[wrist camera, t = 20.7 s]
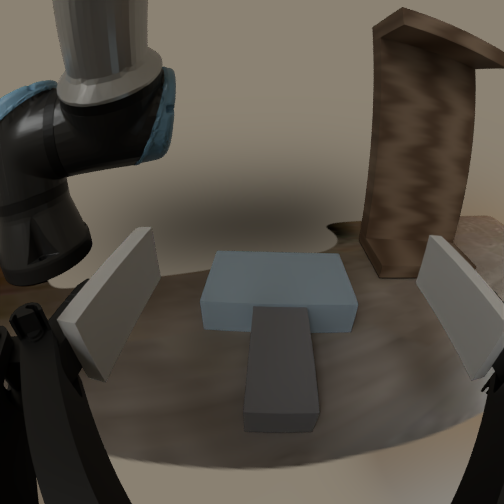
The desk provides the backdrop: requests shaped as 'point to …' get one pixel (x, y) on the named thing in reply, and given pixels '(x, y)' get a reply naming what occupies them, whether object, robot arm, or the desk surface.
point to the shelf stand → (419, 137)
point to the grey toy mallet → (279, 327)
